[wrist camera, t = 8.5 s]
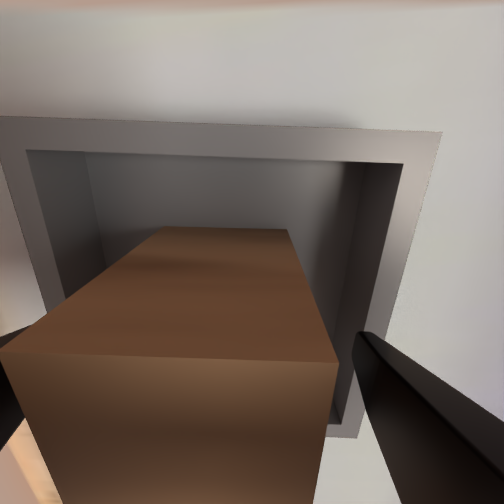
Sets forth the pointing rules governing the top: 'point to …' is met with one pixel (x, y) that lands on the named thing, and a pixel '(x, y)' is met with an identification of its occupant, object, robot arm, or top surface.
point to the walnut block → (182, 375)
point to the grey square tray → (227, 207)
